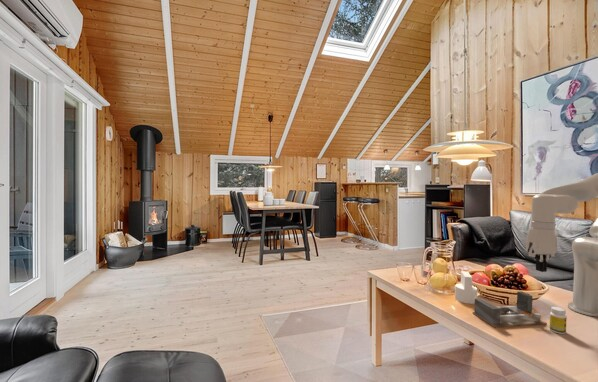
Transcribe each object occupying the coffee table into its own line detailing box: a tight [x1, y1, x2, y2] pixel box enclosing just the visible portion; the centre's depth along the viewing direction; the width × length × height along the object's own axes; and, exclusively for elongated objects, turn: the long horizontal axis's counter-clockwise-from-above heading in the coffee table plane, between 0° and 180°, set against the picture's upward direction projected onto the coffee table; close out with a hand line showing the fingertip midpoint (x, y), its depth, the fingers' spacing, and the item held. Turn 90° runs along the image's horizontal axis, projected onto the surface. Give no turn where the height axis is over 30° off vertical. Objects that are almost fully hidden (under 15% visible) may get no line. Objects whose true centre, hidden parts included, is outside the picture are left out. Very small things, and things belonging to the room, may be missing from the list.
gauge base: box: [472, 298, 547, 328], centre depth 121 cm, size 22×12×7 cm, turn 97°
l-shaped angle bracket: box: [506, 291, 534, 317], centre depth 120 cm, size 8×9×9 cm
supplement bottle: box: [548, 306, 568, 335], centre depth 112 cm, size 5×5×8 cm
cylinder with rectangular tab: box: [454, 270, 478, 305], centre depth 141 cm, size 9×9×12 cm
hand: (541, 270), depth 122 cm, fingers closed
